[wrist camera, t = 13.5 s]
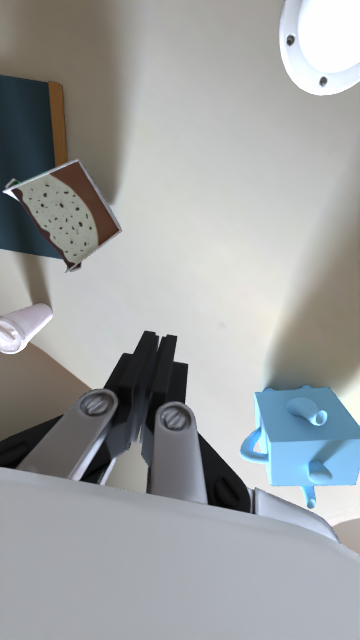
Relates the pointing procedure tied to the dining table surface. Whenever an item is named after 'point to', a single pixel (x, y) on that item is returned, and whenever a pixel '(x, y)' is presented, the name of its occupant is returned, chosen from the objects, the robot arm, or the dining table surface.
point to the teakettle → (304, 439)
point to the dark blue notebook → (28, 154)
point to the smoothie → (22, 326)
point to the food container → (67, 211)
